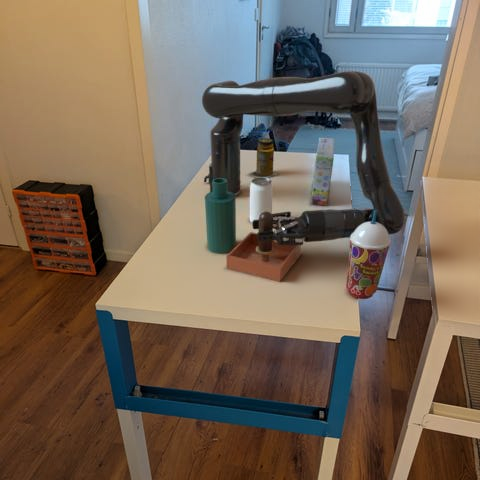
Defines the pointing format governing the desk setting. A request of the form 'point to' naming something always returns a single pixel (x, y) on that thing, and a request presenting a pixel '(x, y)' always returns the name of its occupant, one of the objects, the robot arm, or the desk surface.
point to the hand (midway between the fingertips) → (255, 230)
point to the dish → (250, 260)
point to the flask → (220, 218)
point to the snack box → (323, 171)
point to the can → (260, 197)
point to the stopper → (265, 246)
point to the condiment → (264, 159)
